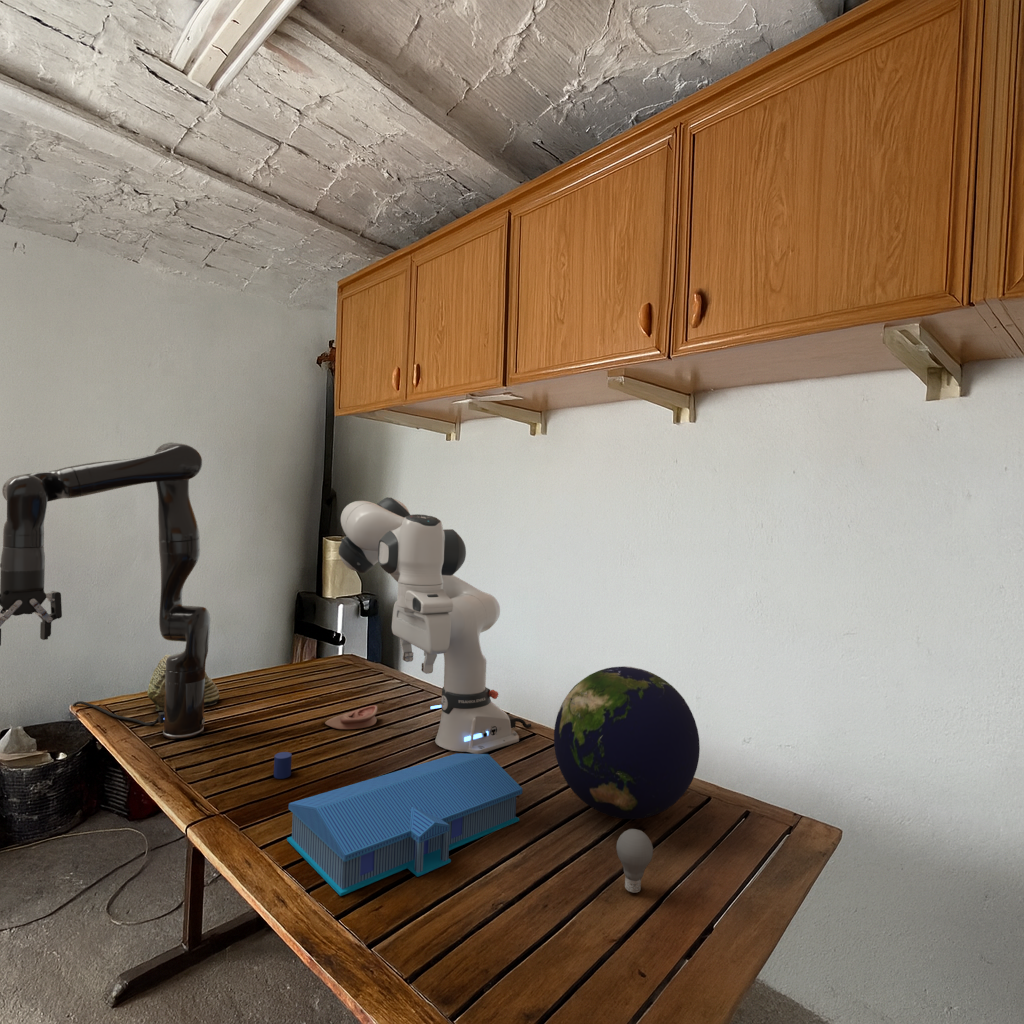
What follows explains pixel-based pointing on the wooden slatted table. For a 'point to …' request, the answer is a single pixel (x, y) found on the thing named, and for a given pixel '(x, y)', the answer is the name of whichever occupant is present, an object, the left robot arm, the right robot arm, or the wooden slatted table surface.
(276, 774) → the canister
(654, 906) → the wooden slatted table surface
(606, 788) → the globe
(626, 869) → the light bulb
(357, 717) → the anatomical model
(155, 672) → the fossil
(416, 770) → the model building
